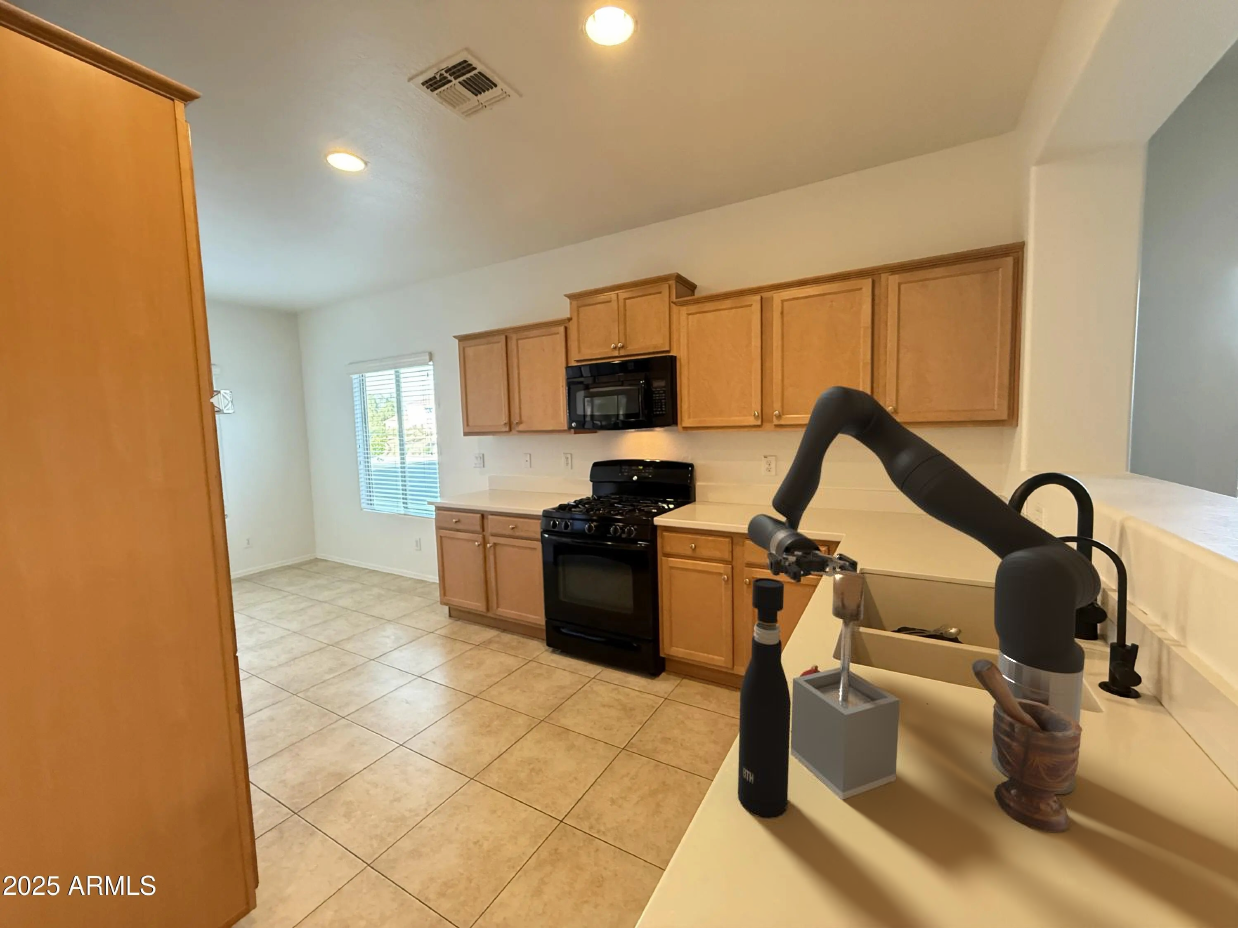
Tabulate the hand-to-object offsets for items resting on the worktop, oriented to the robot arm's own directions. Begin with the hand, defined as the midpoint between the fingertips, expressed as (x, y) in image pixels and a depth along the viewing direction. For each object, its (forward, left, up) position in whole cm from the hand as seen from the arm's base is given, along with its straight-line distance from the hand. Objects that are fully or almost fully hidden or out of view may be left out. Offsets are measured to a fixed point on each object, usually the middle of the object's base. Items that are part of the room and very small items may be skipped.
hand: (826, 577), depth 78 cm
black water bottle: (+18, +9, -26) cm, 33 cm away
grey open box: (+3, +8, -26) cm, 27 cm away
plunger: (+3, +8, -16) cm, 18 cm away
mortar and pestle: (-12, +23, -26) cm, 37 cm away
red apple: (-4, -5, -26) cm, 27 cm away
